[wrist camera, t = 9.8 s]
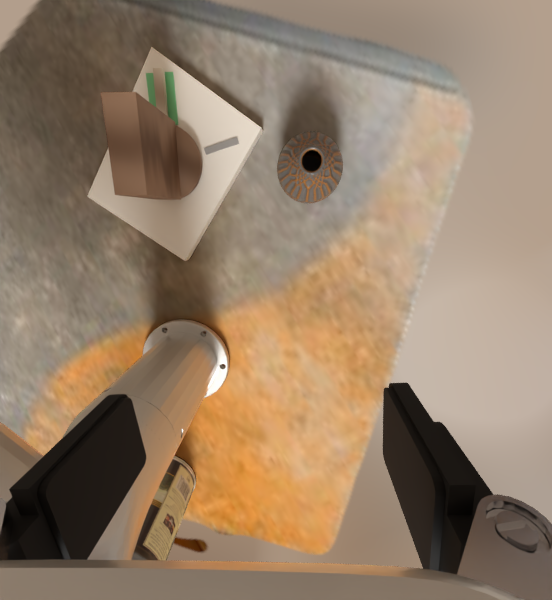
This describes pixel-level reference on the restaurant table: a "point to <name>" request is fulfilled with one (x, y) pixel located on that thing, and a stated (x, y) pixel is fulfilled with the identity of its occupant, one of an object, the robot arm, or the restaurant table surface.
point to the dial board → (214, 151)
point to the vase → (310, 167)
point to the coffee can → (165, 512)
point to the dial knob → (149, 146)
